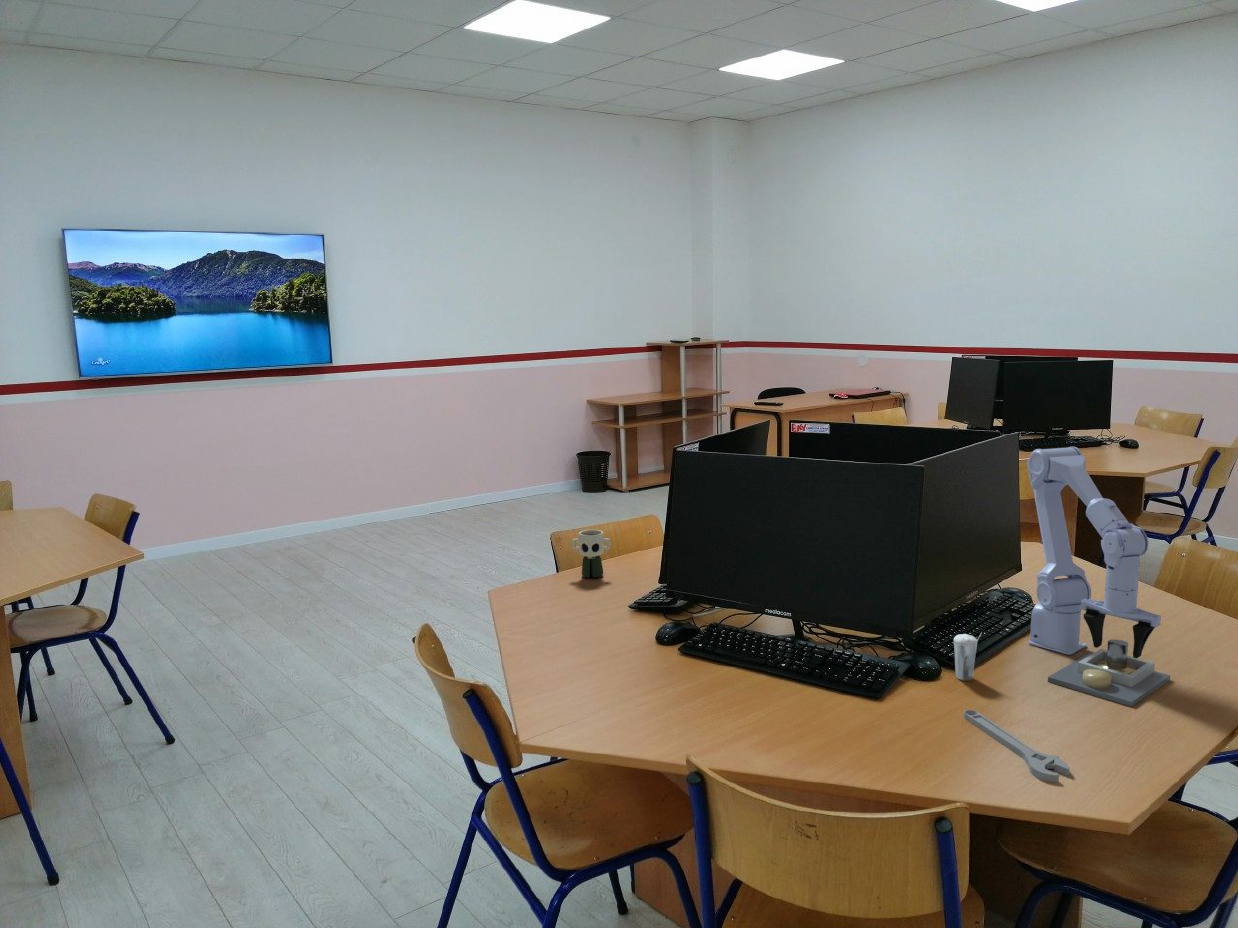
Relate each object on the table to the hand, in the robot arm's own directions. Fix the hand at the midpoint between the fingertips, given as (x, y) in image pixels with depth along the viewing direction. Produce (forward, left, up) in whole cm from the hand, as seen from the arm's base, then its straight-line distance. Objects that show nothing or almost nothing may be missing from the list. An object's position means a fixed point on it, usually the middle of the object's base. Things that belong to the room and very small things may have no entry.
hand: (1117, 651), depth 187 cm
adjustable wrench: (+1, -42, -6) cm, 42 cm away
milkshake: (-20, -22, -6) cm, 30 cm away
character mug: (-130, -34, -6) cm, 134 cm away
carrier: (0, -3, -5) cm, 6 cm away
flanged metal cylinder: (0, 0, -4) cm, 4 cm away
